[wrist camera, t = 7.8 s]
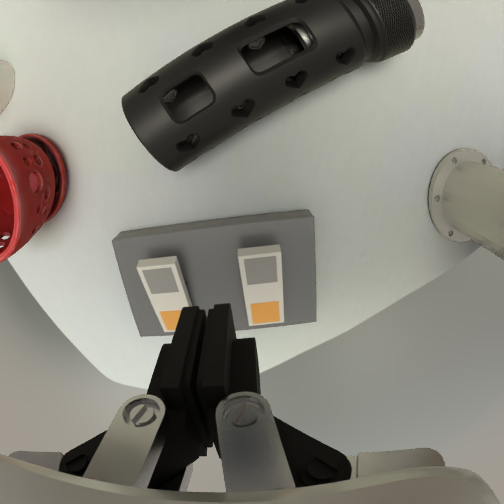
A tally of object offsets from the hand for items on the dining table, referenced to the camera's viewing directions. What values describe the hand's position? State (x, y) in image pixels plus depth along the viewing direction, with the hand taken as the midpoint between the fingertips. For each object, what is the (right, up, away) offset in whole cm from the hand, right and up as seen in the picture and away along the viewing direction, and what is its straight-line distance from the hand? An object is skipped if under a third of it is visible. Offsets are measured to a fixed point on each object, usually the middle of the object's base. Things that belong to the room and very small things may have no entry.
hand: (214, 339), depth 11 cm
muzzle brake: (+4, +23, +18) cm, 30 cm away
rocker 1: (-7, -2, +22) cm, 23 cm away
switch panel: (-3, +1, +27) cm, 27 cm away
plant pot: (-26, +12, +22) cm, 36 cm away
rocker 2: (+2, -1, +22) cm, 22 cm away
